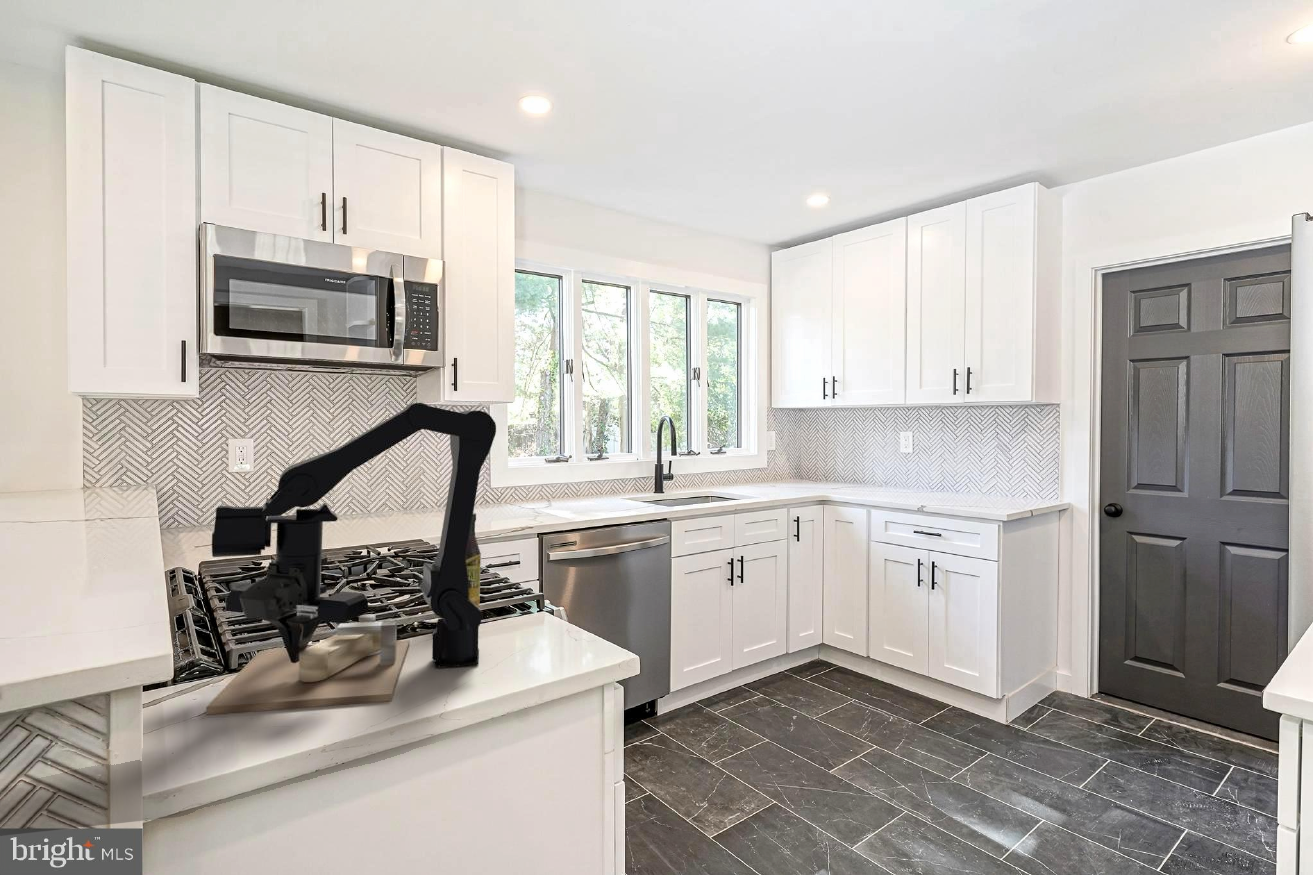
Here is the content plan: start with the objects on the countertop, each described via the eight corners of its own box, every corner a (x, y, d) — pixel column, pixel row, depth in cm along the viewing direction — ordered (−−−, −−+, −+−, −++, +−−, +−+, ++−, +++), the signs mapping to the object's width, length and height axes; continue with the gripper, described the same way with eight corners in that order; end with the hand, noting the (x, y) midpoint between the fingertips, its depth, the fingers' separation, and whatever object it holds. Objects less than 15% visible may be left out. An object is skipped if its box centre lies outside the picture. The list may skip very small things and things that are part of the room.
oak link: (362, 641, 109) (362, 620, 109) (390, 644, 108) (390, 622, 108) (289, 679, 93) (289, 655, 93) (321, 683, 92) (321, 658, 92)
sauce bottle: (469, 621, 125) (471, 516, 125) (439, 619, 126) (440, 514, 126) (485, 612, 132) (487, 511, 131) (456, 609, 133) (458, 510, 132)
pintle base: (409, 645, 112) (410, 604, 111) (391, 700, 90) (392, 649, 90) (262, 654, 106) (263, 610, 106) (206, 714, 85) (206, 660, 85)
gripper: (193, 558, 88) (190, 675, 89) (320, 570, 85) (316, 692, 85) (257, 543, 99) (254, 648, 100) (372, 554, 96) (368, 661, 96)
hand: (295, 662), depth 95 cm, fingers closed
